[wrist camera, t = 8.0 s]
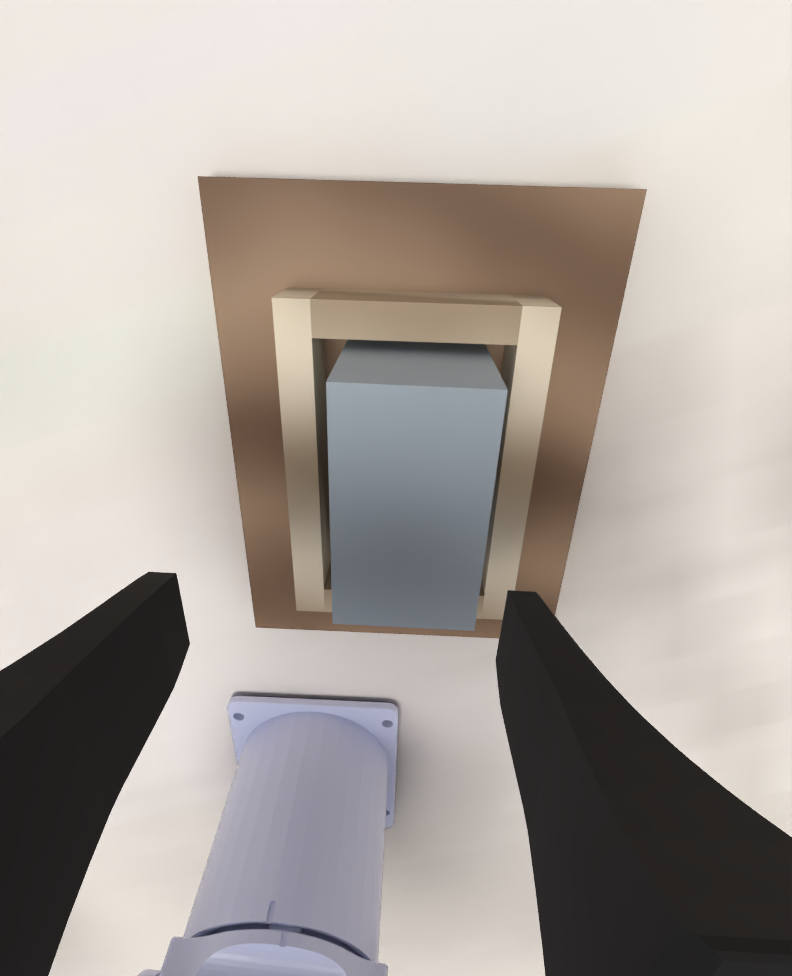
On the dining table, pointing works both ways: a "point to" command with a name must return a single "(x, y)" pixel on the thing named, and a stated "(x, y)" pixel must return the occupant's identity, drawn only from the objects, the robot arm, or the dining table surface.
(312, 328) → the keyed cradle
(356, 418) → the key block
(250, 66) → the dining table surface
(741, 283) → the dining table surface
